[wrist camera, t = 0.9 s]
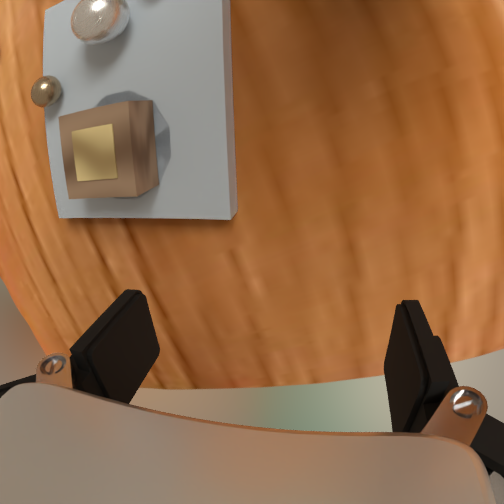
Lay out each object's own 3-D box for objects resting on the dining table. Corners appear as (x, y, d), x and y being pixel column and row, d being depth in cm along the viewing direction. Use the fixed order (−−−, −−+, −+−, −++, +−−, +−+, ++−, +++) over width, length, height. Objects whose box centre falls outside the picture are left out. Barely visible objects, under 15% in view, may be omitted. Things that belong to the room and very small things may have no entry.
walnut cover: (85, 113, 29) (57, 116, 25) (152, 100, 28) (127, 100, 24) (93, 187, 33) (68, 199, 29) (159, 184, 31) (136, 197, 27)
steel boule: (95, 7, 24) (60, -3, 19) (141, -9, 23) (109, -25, 18) (94, 53, 27) (57, 49, 21) (140, 40, 26) (106, 31, 20)
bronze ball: (46, 79, 29) (24, 80, 25) (67, 71, 28) (45, 71, 25) (47, 108, 30) (25, 111, 27) (68, 102, 30) (46, 104, 26)
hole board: (60, 13, 27) (45, 10, 25) (229, -38, 23) (221, -49, 20) (73, 210, 39) (59, 218, 36) (237, 210, 35) (230, 219, 32)
